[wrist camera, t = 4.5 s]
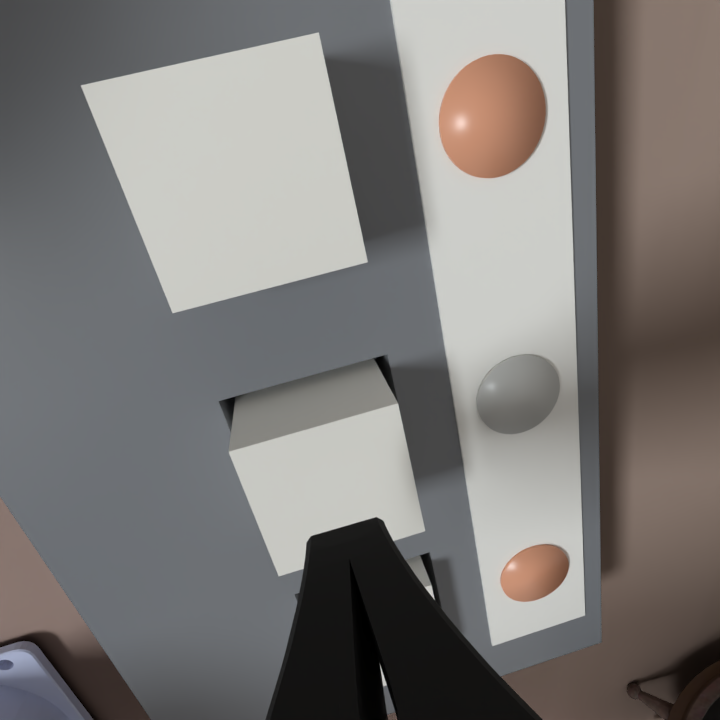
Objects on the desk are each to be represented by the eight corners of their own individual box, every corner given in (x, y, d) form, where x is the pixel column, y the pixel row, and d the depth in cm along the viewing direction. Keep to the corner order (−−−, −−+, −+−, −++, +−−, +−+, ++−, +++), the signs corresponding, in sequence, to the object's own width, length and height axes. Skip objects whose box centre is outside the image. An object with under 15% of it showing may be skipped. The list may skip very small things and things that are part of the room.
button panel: (202, 696, 20) (191, 787, 17) (-191, 19, 10) (-374, -37, 7) (558, 580, 21) (605, 647, 18) (513, -125, 11) (598, -222, 9)
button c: (195, 275, 12) (172, 312, 9) (133, 106, 10) (80, 85, 7) (343, 237, 12) (368, 262, 9) (304, 67, 11) (318, 32, 8)
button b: (276, 494, 15) (278, 576, 12) (236, 387, 13) (228, 451, 10) (394, 459, 15) (425, 531, 12) (369, 350, 14) (398, 403, 11)
